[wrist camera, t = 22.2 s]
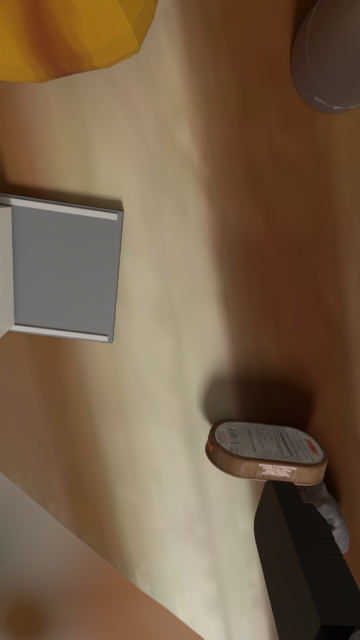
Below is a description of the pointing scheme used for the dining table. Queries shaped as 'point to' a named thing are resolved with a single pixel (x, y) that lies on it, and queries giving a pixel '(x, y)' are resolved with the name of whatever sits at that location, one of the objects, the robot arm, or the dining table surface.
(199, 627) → the dining table surface
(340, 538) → the perforated stone tool
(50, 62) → the decorative pumpkin
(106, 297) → the cart track
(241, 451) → the flat brown bottle
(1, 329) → the cart
